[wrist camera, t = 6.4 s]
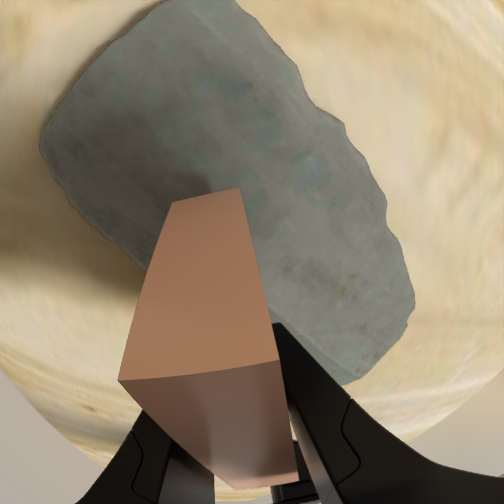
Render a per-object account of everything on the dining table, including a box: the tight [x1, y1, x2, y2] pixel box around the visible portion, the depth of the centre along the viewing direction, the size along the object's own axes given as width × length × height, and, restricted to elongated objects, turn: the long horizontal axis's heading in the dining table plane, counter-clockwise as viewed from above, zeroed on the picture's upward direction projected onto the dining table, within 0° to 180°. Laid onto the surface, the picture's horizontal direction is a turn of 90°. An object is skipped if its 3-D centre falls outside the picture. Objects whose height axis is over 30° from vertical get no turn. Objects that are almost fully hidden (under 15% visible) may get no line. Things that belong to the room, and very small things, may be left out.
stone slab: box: [39, 0, 415, 386], centre depth 12 cm, size 22×3×10 cm
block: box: [118, 188, 299, 490], centre depth 7 cm, size 2×7×6 cm, turn 10°
